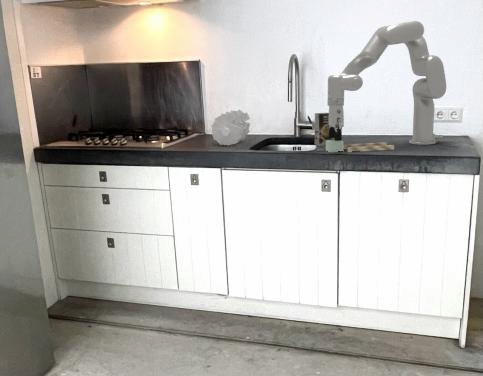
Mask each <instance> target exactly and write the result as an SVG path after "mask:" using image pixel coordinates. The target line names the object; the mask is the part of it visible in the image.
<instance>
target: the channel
mask: <svg viewBox="0 0 483 376" xmlns="http://www.w3.org/2000/svg"><path fill="white" fill-rule="evenodd" d="M343 150H347V153H353V152H352V151H360V152H372V151H374V152H375V151H377V152H378V151H391V150H392V151H393V150H395V144H388V142H386V141H385V142H383V141H382V142H368V143H367V142H366V143H351V144H350V143H349V144H343Z"/></svg>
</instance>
